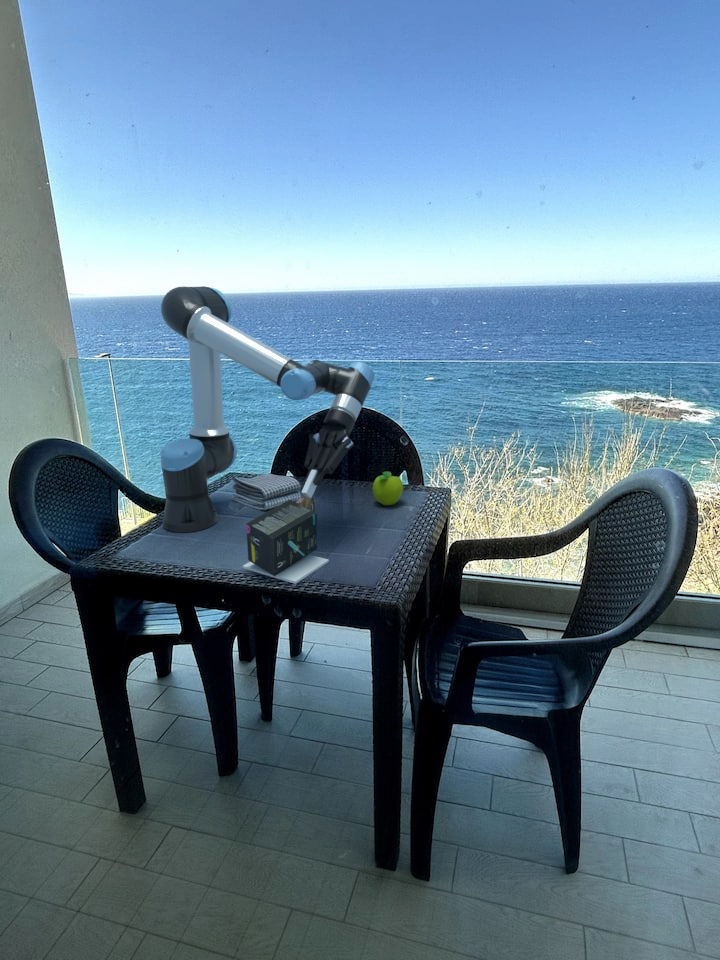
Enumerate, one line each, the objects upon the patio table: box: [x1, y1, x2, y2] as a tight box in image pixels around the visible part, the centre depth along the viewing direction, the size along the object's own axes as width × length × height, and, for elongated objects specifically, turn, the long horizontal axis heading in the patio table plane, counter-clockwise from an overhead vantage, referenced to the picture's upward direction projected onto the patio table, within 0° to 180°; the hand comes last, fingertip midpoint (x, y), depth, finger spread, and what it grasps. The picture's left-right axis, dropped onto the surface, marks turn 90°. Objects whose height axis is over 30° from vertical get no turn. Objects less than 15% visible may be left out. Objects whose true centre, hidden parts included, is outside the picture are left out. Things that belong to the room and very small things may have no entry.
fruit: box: [372, 471, 404, 506], centre depth 179 cm, size 9×9×10 cm
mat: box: [242, 554, 330, 585], centre depth 141 cm, size 16×13×1 cm
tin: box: [295, 494, 316, 513], centre depth 162 cm, size 15×3×8 cm, turn 168°
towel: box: [231, 473, 302, 511], centre depth 186 cm, size 15×18×8 cm
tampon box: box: [245, 500, 318, 576], centre depth 139 cm, size 11×9×15 cm
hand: (306, 495), depth 144 cm, fingers closed
